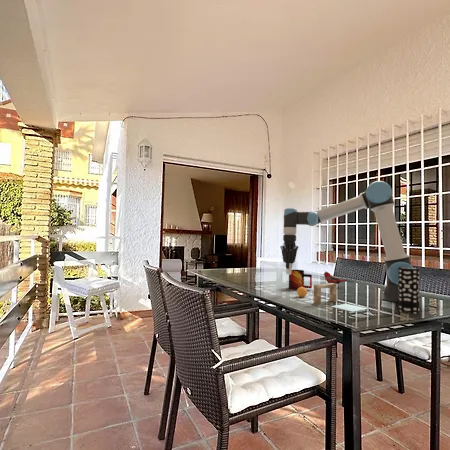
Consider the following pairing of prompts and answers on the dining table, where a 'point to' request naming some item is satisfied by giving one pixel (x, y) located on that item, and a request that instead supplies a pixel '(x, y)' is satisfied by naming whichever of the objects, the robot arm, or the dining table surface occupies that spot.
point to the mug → (298, 279)
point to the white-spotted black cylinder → (408, 290)
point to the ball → (301, 291)
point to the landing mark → (349, 307)
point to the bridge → (331, 294)
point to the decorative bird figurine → (332, 278)
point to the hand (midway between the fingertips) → (288, 274)
